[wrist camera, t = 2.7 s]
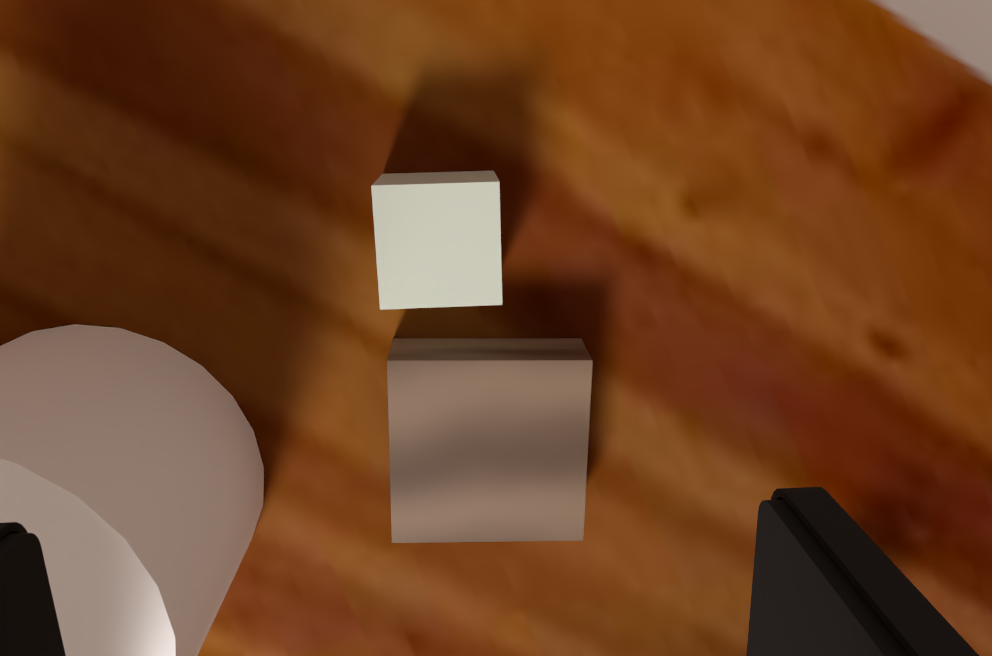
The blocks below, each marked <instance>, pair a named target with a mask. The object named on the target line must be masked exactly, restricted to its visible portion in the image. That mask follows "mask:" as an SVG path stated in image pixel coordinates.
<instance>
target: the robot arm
mask: <svg viewBox="0 0 992 656" xmlns="http://www.w3.org/2000/svg"><path fill="white" fill-rule="evenodd" d="M0 656H66V654H65V650H64V646H63V641H62V637H61V632H60V628H59V623H58V619H57V614H56V610H55V606H54V601H53V597H52V592H51V588H50V583H49V579H48V574H47V570H46V566H45V561H44V557H43V552H42V548H41V544H40V541H39V539H38V537H37V536H36V535H35V534H33V533H27V530H26V529H25V528H24V526H23V525H22V524H20V523H17V522H7V523H0ZM747 656H979V655H978V654H977V653H976V652H975V651H974V650H973V649H972V648H971V647H970V645H969V644H968V643H967V642H966V641H965V640H964V639H963V638H962V637H961V636H960V635H959V634H958V633H957V631H956V630H955V629H954V628H953V627H952V626H951V625H950V624H949V623H948V622H947V621H946V620H945V618H944V617H943V616H942V615H941V614H940V613H939V612H938V611H937V610H936V609H935V608H934V607H933V606H932V604H931V603H930V602H929V601H928V600H927V599H926V598H925V597H924V596H923V595H922V594H921V593H920V592H919V590H918V589H917V588H916V587H915V586H914V585H913V584H912V583H911V582H910V581H909V580H908V579H907V577H906V576H905V575H904V574H903V573H902V572H901V571H900V570H899V569H898V568H897V567H896V566H895V565H894V563H893V562H892V561H891V560H890V559H889V558H888V557H887V556H886V555H885V554H884V553H883V552H882V551H881V549H880V548H879V547H878V546H877V545H876V544H875V543H874V542H873V541H872V540H871V539H870V538H869V536H868V535H867V534H866V533H865V532H864V531H863V530H862V529H861V528H860V527H859V526H858V525H857V524H856V522H855V521H854V520H853V519H852V518H851V517H850V516H849V515H848V514H847V513H846V512H845V511H844V510H843V508H842V507H841V506H840V505H839V504H838V503H837V502H836V501H835V500H834V499H833V498H832V497H831V495H830V494H829V493H828V492H827V491H826V490H824V489H823V488H822V487H805V488H782V489H776V490H775V491H774V493H773V495H772V498H771V500H763V501H762V502H761V503H760V506H759V511H758V521H757V534H756V546H755V558H754V571H753V583H752V596H751V608H750V621H749V633H748V646H747Z"/></svg>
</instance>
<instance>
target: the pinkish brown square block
mask: <svg viewBox="0 0 992 656" xmlns="http://www.w3.org/2000/svg"><path fill="white" fill-rule="evenodd" d="M592 364H593V360H592V358H591V356H590V354H589V352H588V350H587V348H586V347H585V345H584V343H583V341H582V339H581V338H393V341H392V344H391V348H390V352H389V355H388V359H387V378H388V415H389V452H390V488H391V525H392V543H421V542H497V541H573V540H583V533H584V514H585V495H586V477H587V458H588V439H589V420H590V402H591V383H592Z"/></svg>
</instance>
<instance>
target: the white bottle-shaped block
mask: <svg viewBox="0 0 992 656" xmlns="http://www.w3.org/2000/svg"><path fill="white" fill-rule="evenodd" d="M263 494H264V466H263V463H262V459H261V456H260V452H259V448H258V445H257V441H256V438H255V434H254V431H253V429H252V427H251V426H250V424H249V422H248V421H247V419H246V417H245V416H244V414H243V412H242V411H241V409H240V407H239V406H238V404H237V402H236V401H235V399H234V397H233V396H232V395H231V394H230V393H229V392H228V391H227V390H226V389H225V388H224V387H223V386H222V385H221V384H220V383H219V382H218V381H217V380H216V379H215V378H214V377H213V376H212V375H211V374H210V373H209V372H208V371H207V370H206V369H205V368H204V367H203V366H202V365H200V364H199V363H197V362H195V361H194V360H192V359H190V358H189V357H187V356H185V355H184V354H182V353H180V352H179V351H177V350H176V349H174V348H172V347H171V346H169V345H167V344H166V343H164V342H161V341H158V340H155V339H152V338H149V337H146V336H143V335H140V334H137V333H134V332H131V331H128V330H125V329H122V328H115V327H102V326H90V325H78V324H73V325H67V326H61V327H55V328H49V329H43V330H37V331H31V332H29V333H27V334H25V335H23V336H21V337H19V338H16V339H14V340H12V341H10V342H8V343H6V344H4V345H1V346H0V523H7V522H17V523H20V524H22V525H23V526H24V528H25V529H26V530H27V533H33V534H35V535H36V536H37V537H38V539H39V541H40V544H41V548H42V552H43V557H44V561H45V566H46V570H47V574H48V579H49V583H50V588H51V592H52V597H53V601H54V606H55V610H56V614H57V619H58V623H59V628H60V632H61V637H62V641H63V646H64V650H65V654H66V656H197V655H198V653H199V651H200V649H201V647H202V644H203V642H204V640H205V638H206V636H207V634H208V632H209V629H210V627H211V625H212V623H213V621H214V619H215V617H216V615H217V612H218V610H219V608H220V606H221V604H222V602H223V600H224V597H225V595H226V593H227V591H228V589H229V587H230V585H231V582H232V580H233V578H234V576H235V574H236V572H237V570H238V567H239V565H240V563H241V561H242V559H243V557H244V555H245V552H246V550H247V548H248V546H249V544H250V542H251V540H252V537H253V534H254V531H255V528H256V525H257V522H258V519H259V516H260V513H261V510H262V507H263Z"/></svg>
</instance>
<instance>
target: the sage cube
mask: <svg viewBox="0 0 992 656" xmlns="http://www.w3.org/2000/svg"><path fill="white" fill-rule="evenodd" d="M371 189H372V203H373V217H374V231H375V245H376V259H377V273H378V287H379V301H380V310H381V309H408V308H434V307H461V306H488V305H502V264H501V222H500V182H499V180H498V178H497V176H496V174H495V172H494V171H460V172H427V173H394V174H382V175H381V176H380V177H379V178H378V179H377V180H376V181H375V182H374V183H373V184H372V185H371Z"/></svg>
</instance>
